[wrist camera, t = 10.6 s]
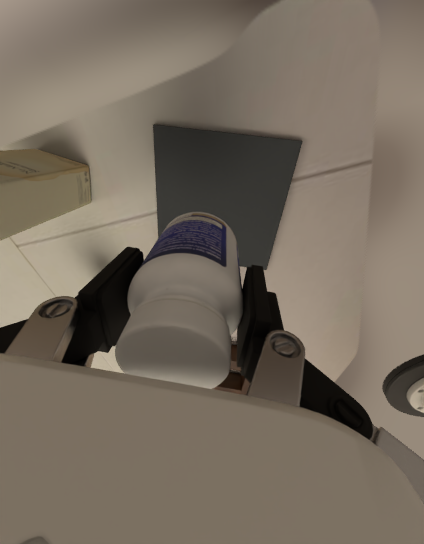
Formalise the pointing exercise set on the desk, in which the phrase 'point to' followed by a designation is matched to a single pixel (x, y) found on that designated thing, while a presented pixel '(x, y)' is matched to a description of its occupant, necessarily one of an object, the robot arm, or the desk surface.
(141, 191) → the desk surface
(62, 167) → the cosmetic box
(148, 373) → the pill bottle
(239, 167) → the mat
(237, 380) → the holder
